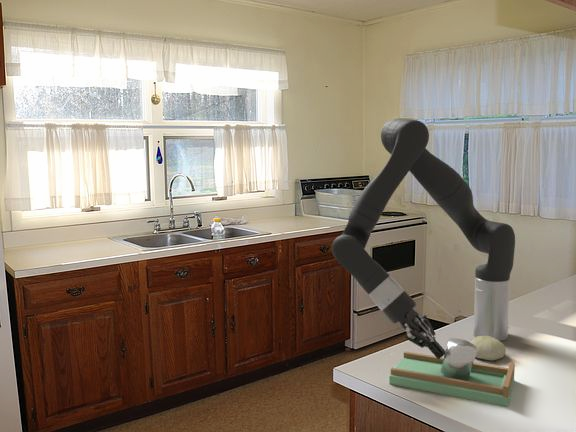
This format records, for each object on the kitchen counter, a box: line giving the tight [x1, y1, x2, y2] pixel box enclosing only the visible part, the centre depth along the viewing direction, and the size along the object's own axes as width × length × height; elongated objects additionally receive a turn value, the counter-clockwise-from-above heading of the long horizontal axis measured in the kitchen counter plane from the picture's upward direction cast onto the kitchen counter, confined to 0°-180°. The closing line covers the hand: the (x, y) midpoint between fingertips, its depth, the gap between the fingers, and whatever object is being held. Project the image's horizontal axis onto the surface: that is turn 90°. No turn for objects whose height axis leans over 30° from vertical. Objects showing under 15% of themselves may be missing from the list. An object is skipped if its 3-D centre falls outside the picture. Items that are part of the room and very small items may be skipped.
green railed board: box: [388, 351, 516, 407], centre depth 129 cm, size 14×26×4 cm, turn 62°
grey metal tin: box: [441, 337, 477, 381], centre depth 128 cm, size 7×7×8 cm
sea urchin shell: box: [469, 336, 507, 362], centre depth 144 cm, size 9×8×8 cm
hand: (442, 355), depth 130 cm, fingers closed
